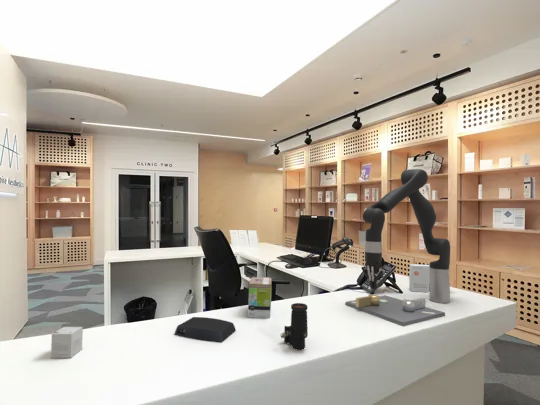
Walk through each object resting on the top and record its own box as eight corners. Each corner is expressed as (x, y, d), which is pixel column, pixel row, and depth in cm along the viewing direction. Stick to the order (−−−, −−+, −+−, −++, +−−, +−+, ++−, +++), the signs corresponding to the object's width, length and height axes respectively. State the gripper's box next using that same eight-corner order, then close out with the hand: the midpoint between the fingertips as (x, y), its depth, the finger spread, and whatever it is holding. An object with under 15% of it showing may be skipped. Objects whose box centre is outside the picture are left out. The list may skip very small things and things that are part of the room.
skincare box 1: (82, 349, 97) (83, 326, 97) (70, 358, 90) (71, 333, 91) (63, 349, 96) (64, 326, 97) (49, 358, 90) (51, 333, 91)
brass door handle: (373, 302, 150) (373, 294, 150) (381, 304, 146) (381, 296, 146) (353, 305, 144) (353, 297, 144) (361, 308, 139) (361, 299, 139)
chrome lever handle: (410, 312, 135) (410, 303, 135) (400, 309, 139) (400, 300, 139) (428, 308, 141) (428, 299, 141) (418, 305, 145) (418, 297, 146)
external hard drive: (193, 324, 121) (193, 314, 122) (236, 331, 115) (237, 320, 115) (172, 336, 109) (173, 325, 109) (220, 345, 103) (220, 332, 103)
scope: (299, 299, 109) (316, 306, 100) (299, 338, 108) (316, 349, 99) (280, 302, 105) (295, 310, 96) (279, 342, 104) (295, 354, 95)
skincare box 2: (411, 292, 180) (411, 265, 181) (408, 289, 185) (408, 263, 186) (449, 294, 177) (449, 266, 177) (446, 291, 182) (445, 265, 183)
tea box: (270, 318, 129) (271, 283, 130) (247, 318, 129) (248, 283, 130) (271, 308, 144) (271, 276, 145) (250, 307, 144) (250, 276, 145)
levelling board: (385, 298, 165) (385, 293, 165) (445, 315, 136) (445, 310, 136) (345, 304, 151) (345, 300, 151) (403, 326, 122) (402, 320, 122)
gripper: (390, 252, 137) (390, 291, 136) (368, 249, 148) (367, 285, 147) (379, 253, 133) (379, 293, 132) (356, 250, 145) (356, 286, 144)
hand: (373, 288), depth 140 cm, fingers closed
